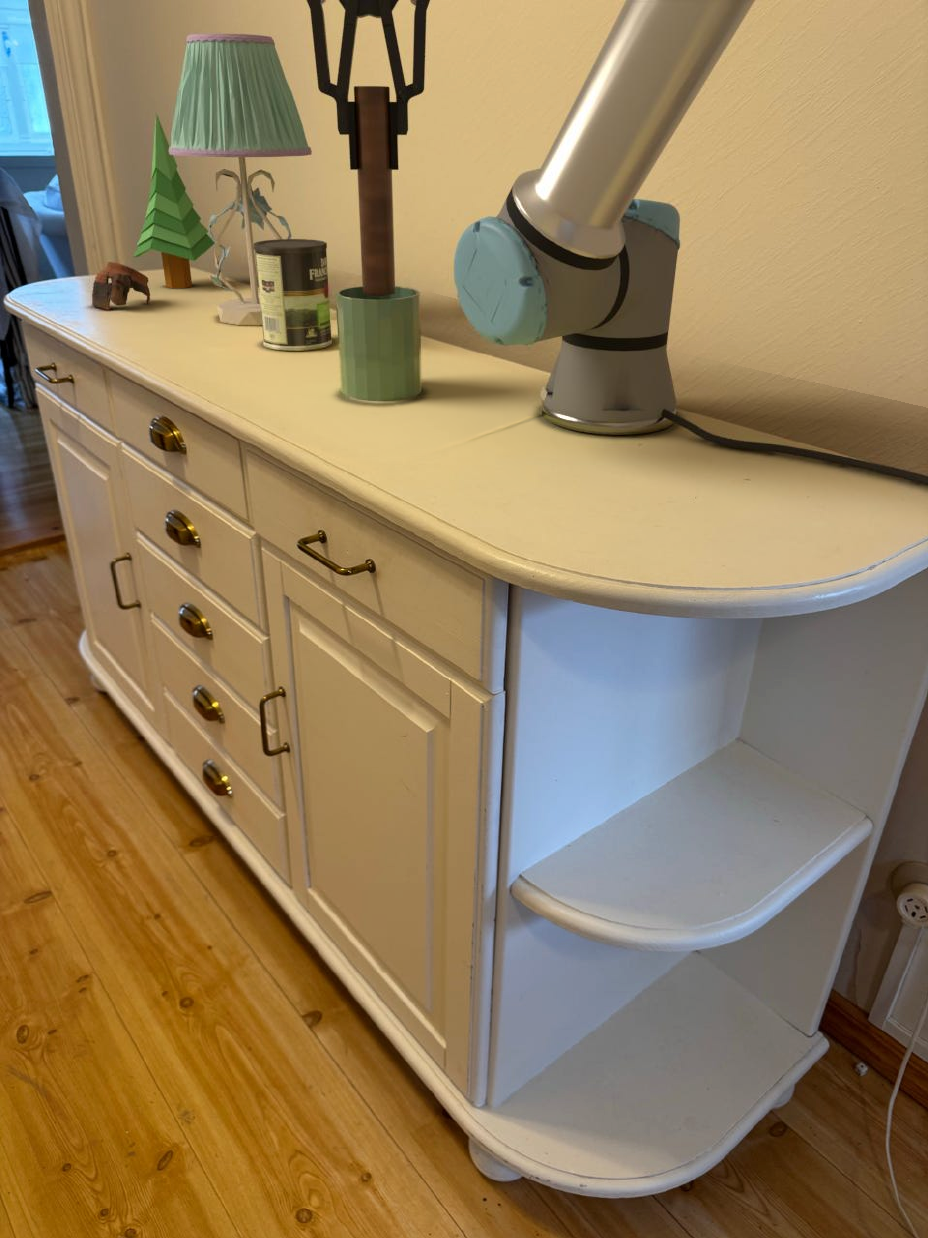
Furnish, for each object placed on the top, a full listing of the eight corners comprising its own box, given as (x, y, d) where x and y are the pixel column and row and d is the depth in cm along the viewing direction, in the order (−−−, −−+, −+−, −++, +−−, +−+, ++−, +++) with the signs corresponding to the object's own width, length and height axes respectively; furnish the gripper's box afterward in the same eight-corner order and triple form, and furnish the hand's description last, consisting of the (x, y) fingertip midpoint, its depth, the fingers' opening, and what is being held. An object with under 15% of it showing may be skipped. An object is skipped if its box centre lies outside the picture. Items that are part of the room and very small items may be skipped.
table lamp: (336, 308, 163) (321, 41, 144) (300, 333, 144) (278, 30, 125) (219, 303, 166) (189, 41, 146) (168, 328, 147) (126, 30, 128)
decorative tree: (219, 290, 177) (199, 112, 163) (134, 293, 174) (106, 111, 160) (220, 279, 189) (201, 112, 174) (140, 281, 186) (114, 111, 171)
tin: (437, 393, 115) (436, 292, 109) (381, 409, 108) (377, 303, 103) (381, 379, 120) (378, 282, 115) (325, 394, 114) (318, 292, 108)
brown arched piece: (85, 306, 165) (99, 261, 164) (139, 327, 169) (153, 284, 169) (89, 299, 154) (103, 251, 154) (146, 322, 158) (160, 275, 158)
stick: (402, 292, 109) (397, 86, 99) (378, 296, 106) (371, 85, 96) (379, 288, 111) (372, 86, 101) (356, 292, 108) (346, 86, 98)
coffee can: (341, 338, 142) (336, 239, 135) (319, 353, 133) (312, 248, 126) (278, 334, 144) (269, 237, 137) (251, 349, 135) (241, 245, 128)
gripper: (448, -87, 95) (448, 167, 106) (282, -90, 94) (300, 166, 105) (452, -102, 88) (452, 170, 99) (274, -106, 87) (294, 170, 98)
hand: (374, 168), depth 102 cm, fingers closed on stick, 4 cm apart
